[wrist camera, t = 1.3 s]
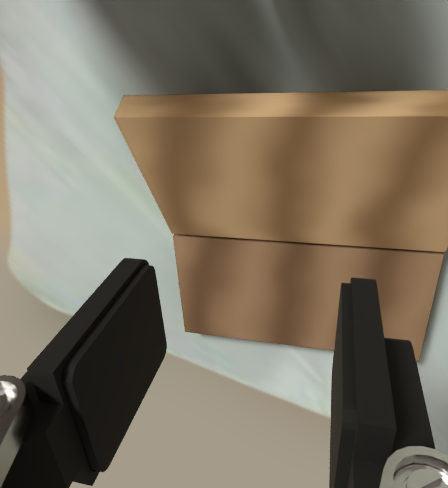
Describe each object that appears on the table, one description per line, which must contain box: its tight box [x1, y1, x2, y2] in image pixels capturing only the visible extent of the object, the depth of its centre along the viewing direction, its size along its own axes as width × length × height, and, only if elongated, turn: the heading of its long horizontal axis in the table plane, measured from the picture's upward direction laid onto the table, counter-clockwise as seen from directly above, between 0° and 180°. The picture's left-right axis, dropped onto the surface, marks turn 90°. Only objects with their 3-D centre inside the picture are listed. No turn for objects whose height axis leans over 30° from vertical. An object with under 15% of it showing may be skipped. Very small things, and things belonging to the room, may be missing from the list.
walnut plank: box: [173, 234, 444, 361], centre depth 34 cm, size 20×10×2 cm, turn 93°
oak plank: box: [114, 90, 448, 252], centre depth 26 cm, size 20×12×2 cm
